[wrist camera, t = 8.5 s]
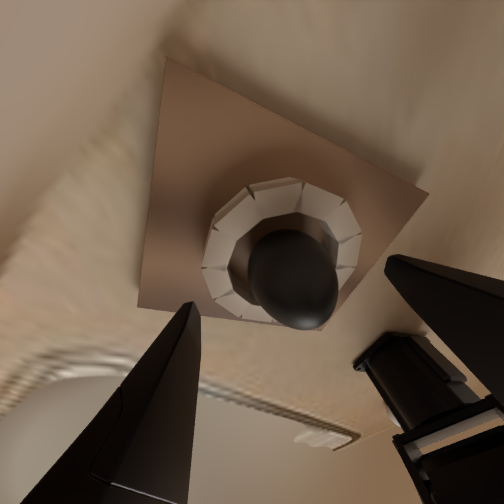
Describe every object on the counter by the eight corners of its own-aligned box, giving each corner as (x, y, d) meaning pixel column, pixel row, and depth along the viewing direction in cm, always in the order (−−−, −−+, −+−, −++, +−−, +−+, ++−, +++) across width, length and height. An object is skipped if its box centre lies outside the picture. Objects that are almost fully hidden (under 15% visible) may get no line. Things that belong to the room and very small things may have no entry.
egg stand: (315, 321, 16) (330, 347, 14) (142, 295, 12) (126, 328, 10) (413, 189, 11) (459, 200, 9) (172, 67, 7) (151, 33, 5)
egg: (230, 263, 11) (237, 342, 6) (272, 205, 9) (315, 256, 5) (282, 288, 12) (315, 364, 8) (324, 241, 11) (391, 303, 7)
